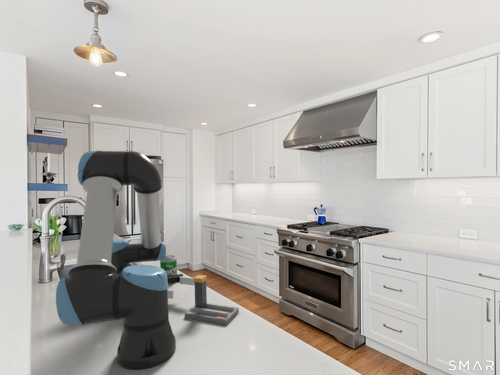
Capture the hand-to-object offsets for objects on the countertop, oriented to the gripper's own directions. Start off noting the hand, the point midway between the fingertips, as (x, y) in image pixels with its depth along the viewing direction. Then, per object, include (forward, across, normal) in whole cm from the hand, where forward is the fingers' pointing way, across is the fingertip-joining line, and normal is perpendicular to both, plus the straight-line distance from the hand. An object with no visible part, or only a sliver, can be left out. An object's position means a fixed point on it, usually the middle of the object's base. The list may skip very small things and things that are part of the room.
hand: (184, 287), depth 106 cm
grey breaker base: (+12, 0, -8) cm, 14 cm away
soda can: (-25, -23, -8) cm, 35 cm away
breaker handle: (+7, 0, -6) cm, 9 cm away
